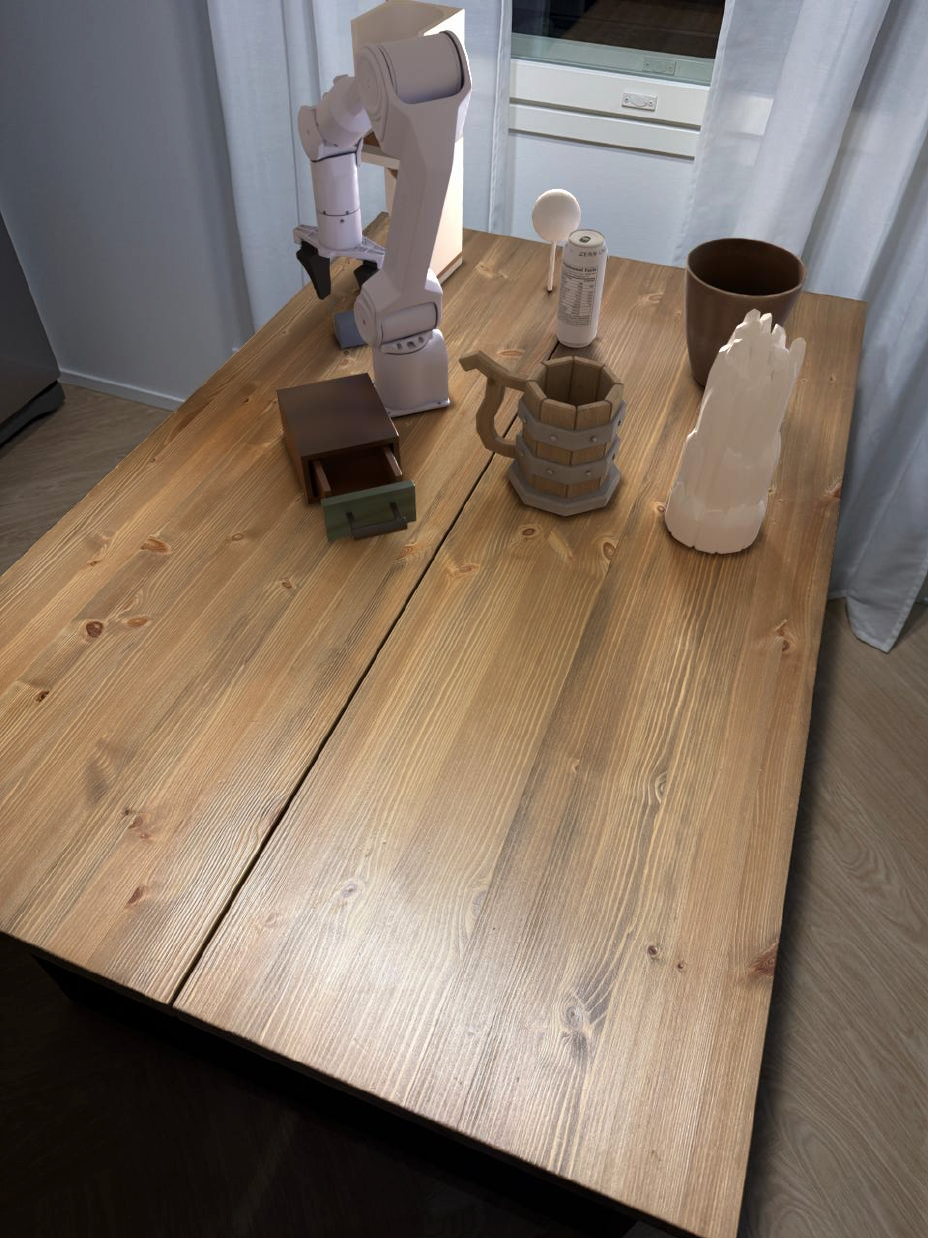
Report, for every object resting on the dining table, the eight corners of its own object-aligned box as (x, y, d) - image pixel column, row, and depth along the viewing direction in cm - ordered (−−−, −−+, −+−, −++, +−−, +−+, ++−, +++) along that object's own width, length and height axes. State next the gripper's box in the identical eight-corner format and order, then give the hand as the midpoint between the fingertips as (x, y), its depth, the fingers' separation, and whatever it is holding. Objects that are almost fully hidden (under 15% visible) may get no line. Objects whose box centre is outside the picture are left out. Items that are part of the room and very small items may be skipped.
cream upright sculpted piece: (758, 560, 100) (829, 367, 81) (662, 546, 101) (710, 352, 82) (757, 497, 107) (822, 306, 88) (667, 485, 108) (712, 293, 89)
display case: (404, 248, 147) (393, -3, 120) (462, 262, 144) (464, 8, 117) (369, 279, 140) (350, 20, 114) (429, 295, 137) (424, 33, 111)
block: (359, 331, 130) (357, 308, 128) (365, 344, 128) (364, 321, 125) (335, 335, 129) (332, 312, 127) (341, 348, 127) (339, 325, 124)
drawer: (427, 544, 100) (426, 509, 96) (337, 566, 97) (332, 531, 93) (386, 455, 110) (383, 420, 106) (303, 473, 108) (297, 438, 104)
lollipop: (573, 279, 141) (583, 181, 129) (572, 302, 136) (582, 203, 125) (528, 276, 141) (534, 179, 130) (525, 299, 136) (532, 200, 125)
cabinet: (401, 483, 108) (399, 436, 103) (308, 504, 105) (300, 456, 100) (371, 419, 116) (367, 372, 111) (284, 436, 114) (275, 389, 108)
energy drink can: (603, 335, 130) (617, 234, 119) (582, 354, 127) (595, 252, 115) (567, 322, 132) (578, 222, 121) (546, 340, 129) (555, 239, 118)
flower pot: (750, 420, 117) (785, 308, 105) (646, 384, 122) (667, 274, 110) (787, 365, 125) (822, 256, 113) (688, 334, 130) (712, 227, 118)
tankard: (628, 464, 111) (648, 358, 99) (595, 527, 103) (612, 420, 92) (482, 422, 116) (485, 317, 105) (440, 479, 109) (438, 372, 97)
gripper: (273, 204, 114) (287, 302, 124) (367, 232, 110) (374, 331, 120) (306, 184, 118) (317, 280, 129) (398, 209, 114) (402, 307, 124)
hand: (347, 303), depth 124 cm, fingers open, 7 cm apart
